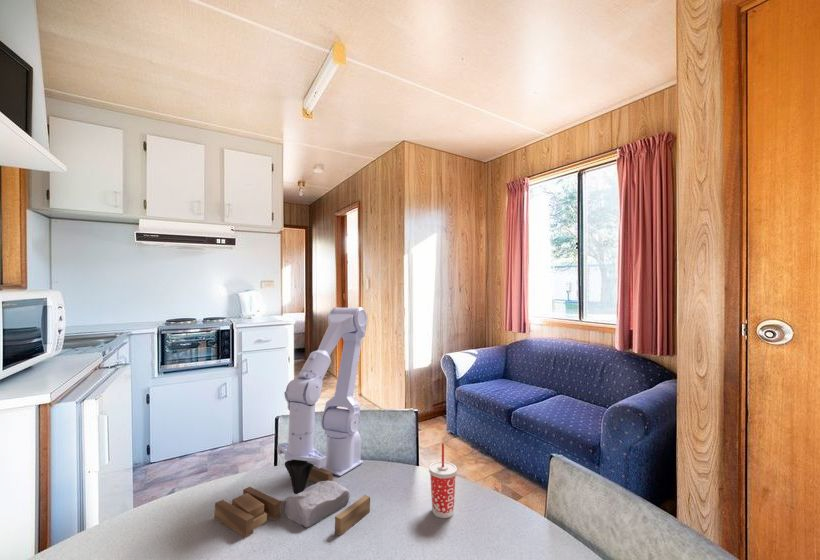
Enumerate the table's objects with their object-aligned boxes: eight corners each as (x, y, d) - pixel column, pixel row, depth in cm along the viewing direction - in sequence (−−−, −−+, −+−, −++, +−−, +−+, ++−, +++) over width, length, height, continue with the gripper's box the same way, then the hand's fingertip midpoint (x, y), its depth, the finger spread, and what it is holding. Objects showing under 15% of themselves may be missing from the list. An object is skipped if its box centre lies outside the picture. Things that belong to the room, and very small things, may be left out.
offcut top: (246, 501, 71) (247, 492, 71) (263, 513, 67) (264, 504, 67) (231, 508, 68) (232, 499, 68) (248, 521, 64) (248, 511, 64)
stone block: (279, 522, 69) (308, 531, 64) (278, 497, 70) (307, 503, 65) (324, 499, 79) (353, 505, 73) (323, 477, 80) (351, 481, 74)
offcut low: (243, 511, 71) (244, 501, 71) (266, 524, 67) (267, 513, 67) (226, 520, 68) (227, 509, 68) (250, 534, 63) (250, 523, 64)
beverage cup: (436, 523, 66) (436, 451, 68) (424, 506, 72) (424, 440, 73) (462, 516, 69) (462, 446, 70) (448, 500, 74) (448, 436, 76)
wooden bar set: (302, 473, 87) (302, 461, 87) (380, 503, 73) (380, 489, 73) (214, 518, 67) (215, 502, 68) (298, 570, 54) (299, 550, 54)
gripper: (267, 429, 77) (264, 491, 76) (309, 443, 69) (307, 511, 68) (291, 421, 83) (289, 478, 82) (333, 432, 75) (331, 495, 74)
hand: (299, 492), depth 75 cm, fingers closed
